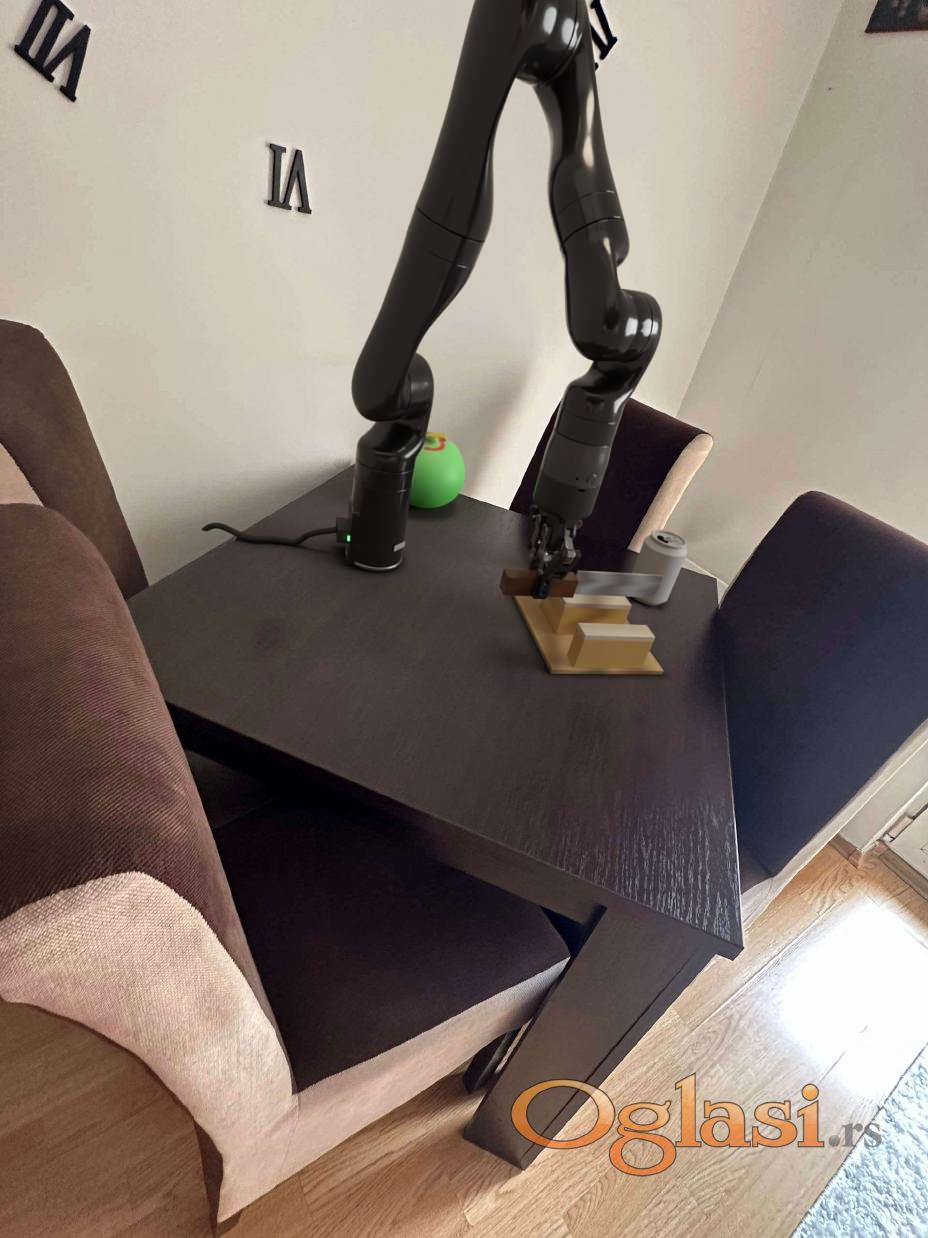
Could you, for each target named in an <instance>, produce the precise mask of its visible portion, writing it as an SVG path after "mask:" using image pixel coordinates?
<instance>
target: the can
mask: <svg viewBox="0 0 928 1238" xmlns="http://www.w3.org/2000/svg"><path fill="white" fill-rule="evenodd" d="M687 545H688V542H687V540H686V539H685V538H684V537H683V536H681V535H680V534H679V533H676V532H674V531H671V530H668V529H661V528H660V529H659V528H657V529H653V530H651V531H650V534H649V535H647V536H645V537H644V540H643V542H642V545H641V547H640V550H639V552H638V554H637V558H636V560H635V563H634V566H633V568H632V571H631V573H636V574H656V575H663V579H662V581H661V583H660V586H659V588H658V591H657V593H656V595H655V598H652V597H632V598H633V599H634V600H636V601H637V602H639V603H642V604H644V605H649V606H659V605H660V604H665V602H667V601H668V600H669V597H670V595H671V592H672V590H673V587H674V586H675V584H676V581H677V578H678V577H679V574H680V571H681V569H682V567H683V564H684V562H685V560H686V557H687V555H688V549H687Z"/></svg>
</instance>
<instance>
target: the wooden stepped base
mask: <svg viewBox="0 0 928 1238" xmlns="http://www.w3.org/2000/svg"><path fill="white" fill-rule="evenodd" d="M512 598H513V600H514V602H515V605H516V606H517V608H518V611H519V612H520V614H521V617H522V618H523V621H524V623H525V625H526V626H527V629H528V630H529V632H530V634H531V637H532V639H533V641H534V643H535V645H536V647H537V649H538V650H539V653H540V654H541V658H542V659H543V662H544V663H545V665H546V667H547V669H548V671H549V673H550V674H551V675H552V674H553V675H657V676H658V675H659V676H660V675H663V673H664V669H663V668H662V666H661V665H660V663H659V662H658V660H657V659H656V658H655V657H654V655H653V653H652V652H651V650H649V653H648V655H647V657H646V660H645V662H644V664H643V667H642V668H574V667H573V665H572V663H571V661H570V660H569V658H568V656H567V653H568V650H569V647H570V645H571V642H572V639H573V636H574V633H575V630H576V628H577V624H578V623H600V624H630V625H632V624H631V622H630V621H629V620H628V616H629V614H630V611H631V608H632V606H633V605H632V604H631V603H630V602H631V601H629V599H628V598H627V596H602V595H577V594H574V597H573V598H562V597H547V598H546V599H533V598H532V596H512Z"/></svg>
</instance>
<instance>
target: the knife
mask: <svg viewBox="0 0 928 1238" xmlns="http://www.w3.org/2000/svg"><path fill="white" fill-rule="evenodd" d="M537 572H538V570H528V569H520V568H503V570H502V574H501V578H500V582H499V585H498V587H499V589H500V591H501V593H502V596H511V597H513V596H531V591H532V588H533V585H534V581H535V577H536V574H537ZM662 579H663V575H656V574H636V573H632V572H613V571H597V570H596V571H595V570H576V573H574V572H573V571H570V572H569V573H568V574H567V576H566V577H565V578H564V579H563V580H559V579H553V582H552V585H551V588H550V591H549V594H548V597H562V598H573V597H574V594H577V595H602V596H625V597H626V598H627V597H631V598H633V597H652V598H655V595H656V593H657V591H658V588H659V586H660V583H661V581H662Z"/></svg>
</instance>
